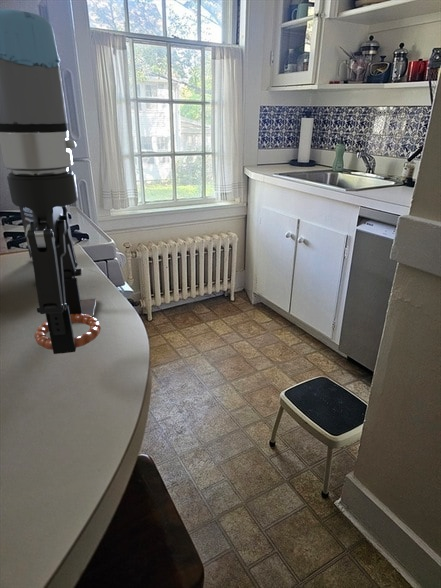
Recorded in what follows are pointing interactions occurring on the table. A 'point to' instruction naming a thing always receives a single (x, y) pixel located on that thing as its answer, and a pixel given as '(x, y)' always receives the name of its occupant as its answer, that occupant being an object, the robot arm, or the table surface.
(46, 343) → the ring
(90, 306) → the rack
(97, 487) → the table surface
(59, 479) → the table surface
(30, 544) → the table surface
